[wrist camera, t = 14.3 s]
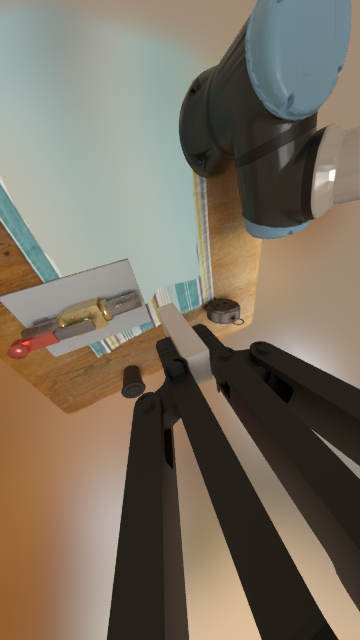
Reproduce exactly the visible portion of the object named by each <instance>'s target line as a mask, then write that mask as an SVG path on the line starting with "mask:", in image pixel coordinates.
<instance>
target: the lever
mask: <svg viewBox="0 0 360 640" xmlns="http://www.w3.org/2000/svg"><path fill="white" fill-rule="evenodd" d="M93 330H96V325H95V323H94V322H93V320H92V319H88V318H84V319H83V320H82V322H80V323H77V324H74V325H71V326H67V327H64V328H61V329H57V330H51V331H48V332H45V333H41V334H38V335H35V336H32V337H28V338H25V339H19V340H17V341H15V342H14V343H13V344H12V345H11V346H10V347H11V348H10V349H9V350H8V352H7V354H8V355H9V356H10V357H11V358H14V359H22V358H24V357H26V356H27V354H28V352H31V351H34V350H37V349H40V348H44V347H47V346H50V345H53V344H56V343H59V342H60V341H61V340H65V339H68V338H71V337H74V336H77V335H80V334H83V333H87V332H90V331H93Z"/></svg>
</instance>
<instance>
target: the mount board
mask: <svg viewBox="0 0 360 640" xmlns="http://www.w3.org/2000/svg"><path fill="white" fill-rule="evenodd" d="M128 289H130V291H131V293H133V292H137V294H138V297H139V299H140V302H141V304H142V307H139V308H137V309H134V310H131V311H128V312H125V313H123V314H120V315H117V316H114V317H115V319H113V320H111V321H109V324H108V326H106V327H103V328H100V329H97V330H95V331H92V332H89V333H86V334H84V335H81V336H78V337H77V336H74V337H71V338H68V339H65V340H61V341H60V342H59V343H56V344H53V345H50V346H47V347H46V348H47V349H48V350H49V352H50V353H51V354H52V355H53V356H54V357H57V356H60V355H63V354H65V353H68V352H70V351H73V350H76V349H78V348H81V347H84V346H86V345H89V344H92V343H94V342H97V341H100V340H102V339H105V338H108V337H110V336H113V335H116V334H118V333H121V332H124V331H126V330H129V329H131V328H134V327H137V326H139V325H142V324H145V323H147V322H150V321H151V319H150V316H149V313H148V311H147V308H146V305H145V303H144V300H143V297H142V295H141V292H140V290H139V287H138V284H137V282H136V279H135V276H134V274H133V271H132V269H131V266H130V263H129V261H128V259H124V260H120V261H117V262H114V263H111V264H107V265H103V266H100V267H96V268H93V269H90V270H86V271H83V272H79V273H76V274H72V275H69V276H66V277H62V278H59V279H55V280H52V281H49V282H45V283H42V284H38V285H35V286H31V287H28V288H25V289H21V290H18V291H14V292H11V293H8V294H4V295H1V296H0V301H1V302H2V303H3V304H4V305H5V306H6V307H7V308H8V309H9V310H10V311H11V312H12V313H13V314H14V315H15V317H16V318H17V319H18V320H19V321H20V322H21V323H22V324H23V325H24V326H25V327H26V328H28V327H31V326H34V324H33V323H32V322H33V321H34V320H37V319H40V318H43V317H47V318H48V319H49V320H52V319H55V318H57V315H58V314H61V313H64V311H65V310H66V308H67V307H68V306H71V305H74V304H77V303H80V302H83V301H86V300H89V299H92V298H95V297H99V299H100V300H103V299H106V300H107V301H109V300H112V299H115V298H118V297H121V296H120V294H119V292H122V291H125V290H128Z"/></svg>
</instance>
